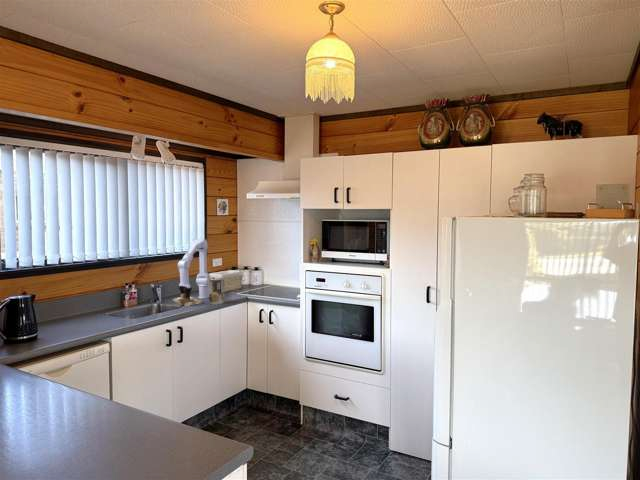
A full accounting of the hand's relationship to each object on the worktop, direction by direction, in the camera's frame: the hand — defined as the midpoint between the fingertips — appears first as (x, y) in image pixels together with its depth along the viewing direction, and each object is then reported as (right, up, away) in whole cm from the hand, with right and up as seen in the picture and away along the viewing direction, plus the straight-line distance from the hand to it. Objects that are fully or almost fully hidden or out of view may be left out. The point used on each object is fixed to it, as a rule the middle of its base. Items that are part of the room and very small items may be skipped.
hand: (185, 297), depth 309 cm
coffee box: (+21, -5, +2) cm, 22 cm away
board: (-1, -5, +8) cm, 10 cm away
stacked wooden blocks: (+1, -5, +1) cm, 5 cm away
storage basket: (+17, -1, +53) cm, 56 cm away
